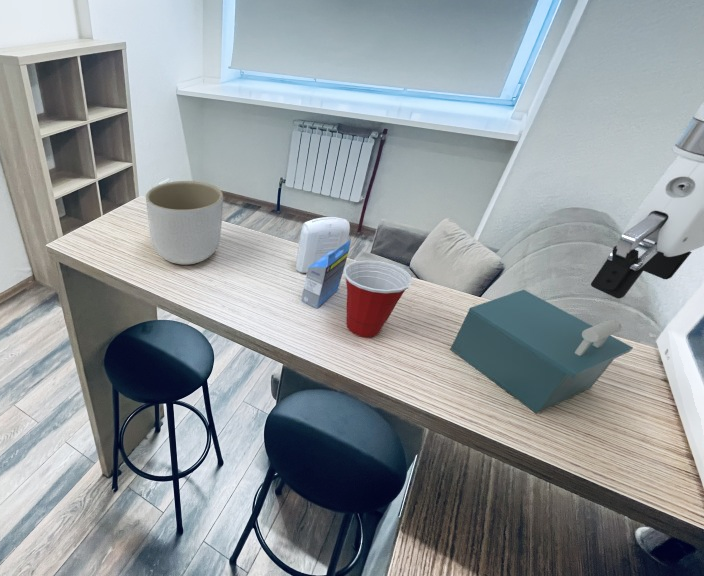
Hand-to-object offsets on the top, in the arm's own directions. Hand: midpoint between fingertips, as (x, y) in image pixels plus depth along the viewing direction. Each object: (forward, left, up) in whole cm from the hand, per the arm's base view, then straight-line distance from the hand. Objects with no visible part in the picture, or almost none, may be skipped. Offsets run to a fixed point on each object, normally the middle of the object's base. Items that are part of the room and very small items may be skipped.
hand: (629, 282), depth 51 cm
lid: (+5, 0, -12) cm, 13 cm away
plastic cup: (+23, +16, -20) cm, 35 cm away
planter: (+61, +36, -20) cm, 74 cm away
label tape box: (+34, +17, -20) cm, 43 cm away
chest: (+5, 0, -20) cm, 21 cm away
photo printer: (+43, +11, -20) cm, 49 cm away
